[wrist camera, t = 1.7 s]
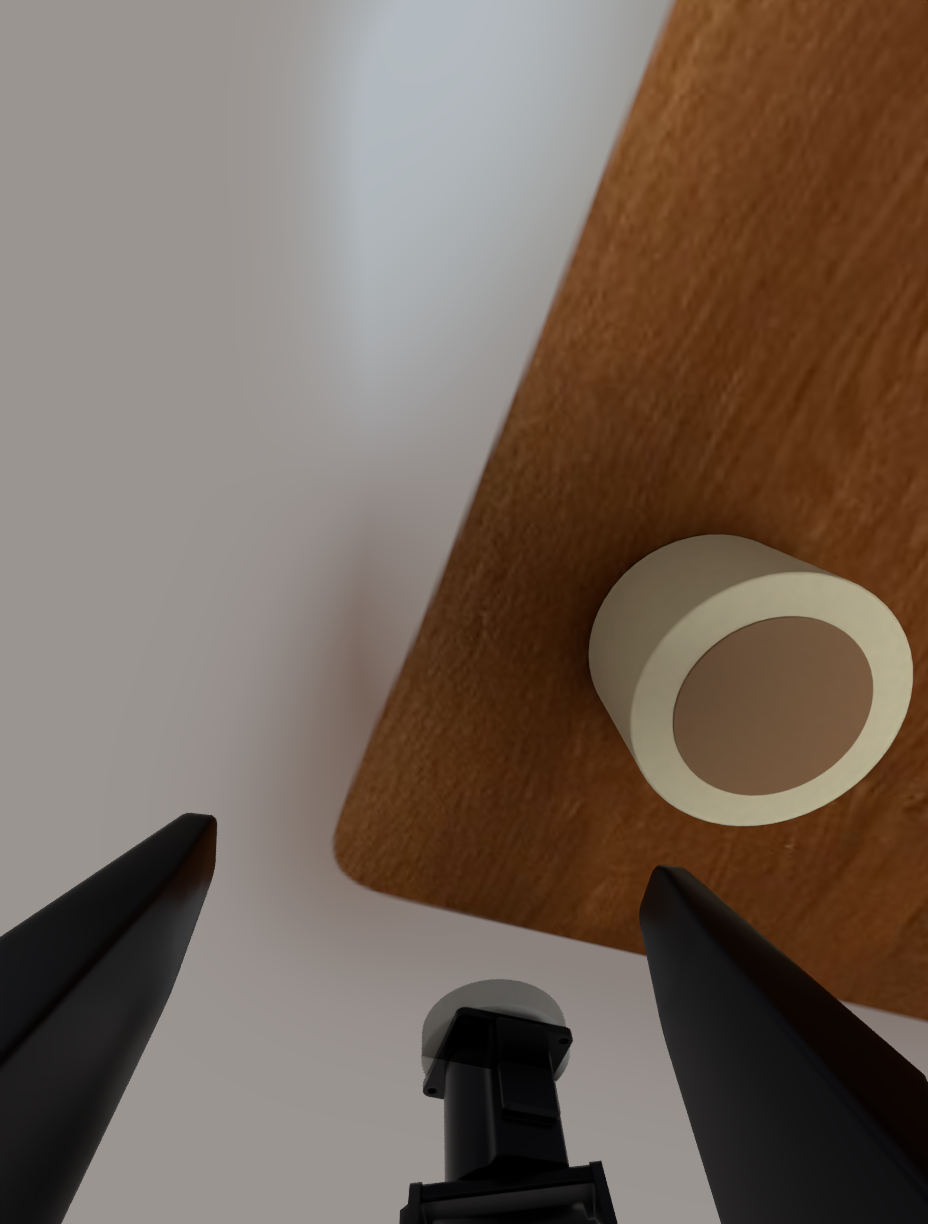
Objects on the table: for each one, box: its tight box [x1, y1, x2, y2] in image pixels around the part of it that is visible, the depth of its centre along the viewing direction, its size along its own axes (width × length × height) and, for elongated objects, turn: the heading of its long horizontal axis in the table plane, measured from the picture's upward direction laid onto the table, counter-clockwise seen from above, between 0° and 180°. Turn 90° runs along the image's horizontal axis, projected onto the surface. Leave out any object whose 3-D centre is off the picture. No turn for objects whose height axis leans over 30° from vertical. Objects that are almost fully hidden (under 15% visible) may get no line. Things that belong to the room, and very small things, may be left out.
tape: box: [589, 534, 913, 826], centre depth 18 cm, size 8×8×5 cm
